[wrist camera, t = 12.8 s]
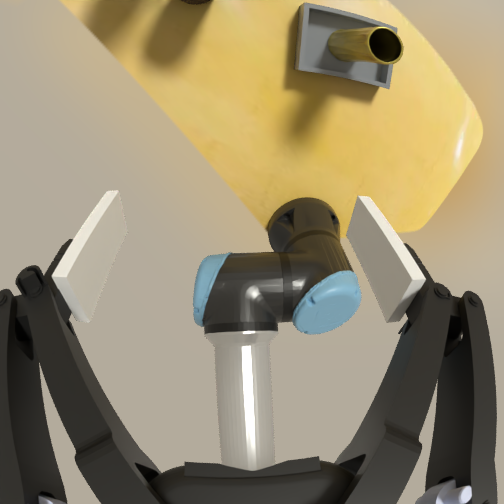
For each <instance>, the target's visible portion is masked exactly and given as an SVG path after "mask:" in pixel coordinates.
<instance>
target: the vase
mask: <svg viewBox="0 0 504 504" xmlns="http://www.w3.org/2000/svg"><path fill="white" fill-rule="evenodd" d="M328 47H329V50H330V52H331V53H332V55H333V56H335V57H336V58H337V59H338V60H340V61H344V62H371V63H378V64H384V65H388V64H394V63H396V62H398V61H399V60H400V59H401V57H402V55H403V44H402V41H401V39H400V37H399V36H398V35H397V34H396V33H395V32H394V31H393V30H392V29H390V28H387V27H368V28H359V29H346V30H345V29H340V30H337V31H335V32H333V33H332V34H331V36H330V37H329V40H328Z"/></svg>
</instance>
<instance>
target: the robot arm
mask: <svg viewBox="0 0 504 504" xmlns="http://www.w3.org/2000/svg"><path fill="white" fill-rule="evenodd" d="M127 233H128V230H127V225H126V221H125V216H124V212H123V207H122V202H121V197H120V192H119V191H107V192H106V193H105V195H104V196H103V197H102V199H101V200H100V202H99V203H98V204H97V206H96V207H95V209H94V210H93V211H92V213H91V214H90V215H89V217H88V218H87V220H86V221H85V223H84V224H83V226H82V227H81V229H80V230H79V232H78V233H77V235H76V236H75V238H74V239H69V240H68V241H67V242H66V243H65V244H64V245H62V247H61V248H60V250H59V251H58V253H57V255H56V256H55V258H54V261H52V263H51V265H50V266H49V268H48V270H47V272H46V273H45V275H43V273H42V271H41V270H40V268H39V267H38V266H36V265H33V266H29V267H26V268H25V269H23V270H22V271H21V272H20V273H19V274H18V276H17V278H16V285H17V287H18V289H19V290H20V292H21V293H22V295H19V296H14V295H13V294H12V292H11V291H10V290H9V289H4V290H1V291H0V504H67V498H66V495H65V489H64V485H63V482H62V479H61V475H60V472H59V469H58V465H57V462H56V459H55V455H54V451H53V447H52V444H51V439H50V435H49V430H48V425H47V420H46V415H45V409H44V403H43V396H42V388H41V379H40V368H39V362H40V366H41V368H42V371H43V375H44V377H45V380H46V383H47V386H48V389H49V391H50V394H51V397H52V399H53V402H54V404H55V407H56V409H57V411H58V414H59V416H60V418H61V421H62V423H63V425H64V427H65V429H66V431H67V433H68V435H69V437H70V439H71V441H72V443H73V445H74V447H75V450H76V455H75V461H76V464H77V466H78V468H79V470H80V472H81V473H82V475H83V477H84V478H85V480H86V481H87V483H88V485H89V486H90V488H91V489H92V491H93V492H94V494H95V495H96V497H97V498H98V500H99V501H100V502H101V504H396V503H397V501H398V500H399V498H400V496H401V494H402V492H403V490H404V488H405V486H406V484H407V482H408V480H409V478H410V476H411V474H412V472H413V470H414V468H415V465H416V463H417V461H418V459H419V456H420V453H421V450H422V444H421V443H420V442H419V435H420V432H421V430H422V427H423V424H424V421H425V418H426V415H427V413H428V410H429V407H430V403H431V400H432V397H433V394H434V390H435V387H436V383H437V379H438V386H437V403H436V415H435V423H434V431H433V439H432V446H431V451H430V457H429V462H428V468H427V474H426V486H425V493H424V494H423V496H422V497H420V498H418V499H417V501H416V503H415V504H497V482H496V471H495V462H494V457H495V446H496V422H497V410H496V409H497V408H496V385H495V374H494V364H493V355H492V348H491V342H490V336H489V330H488V325H487V320H486V315H485V311H484V306H483V303H482V300H481V299H480V298H479V296H478V295H477V294H475V293H473V292H471V291H466V292H465V293H464V294H463V296H462V297H461V298H459V297H455V296H452V295H451V293H450V291H449V290H448V289H447V288H446V287H445V286H444V285H442V284H439V283H435V282H434V281H433V279H432V278H431V276H430V274H429V273H428V271H427V270H426V268H425V266H424V265H423V264H422V262H421V260H420V259H419V258H418V256H417V255H416V253H415V251H414V250H413V249H412V248H411V247H410V246H409V245H408V244H406V243H403V242H402V241H401V239H400V238H399V236H398V235H397V234H396V232H395V231H394V229H393V228H392V226H391V225H390V224H389V222H388V221H387V220H386V218H385V217H384V215H383V214H382V213H381V211H380V210H379V209H378V207H377V206H376V205H375V203H374V202H373V201H372V200H371V198H370V197H367V196H357V200H356V204H355V207H354V211H353V214H352V217H351V221H350V224H349V227H348V231H347V234H346V236H347V238H348V239H349V241H350V243H351V245H352V247H353V249H354V251H355V253H356V256H357V258H358V259H359V262H360V264H361V266H362V268H363V270H364V272H365V274H366V276H367V279H368V281H369V283H370V285H371V287H372V290H373V292H374V294H375V296H376V299H377V301H378V303H379V305H380V308H381V310H382V313H383V315H384V317H385V320H386V322H387V323H388V322H396V321H400V320H401V318H402V317H403V315H404V314H405V313H406V315H407V317H408V320H407V321H406V323H405V324H404V325H403V327H402V328H401V330H400V331H399V333H398V334H400V333H401V332H402V333H401V336H400V339H399V342H398V344H397V347H396V350H395V352H394V355H393V357H392V360H391V362H390V365H389V367H388V369H387V372H386V374H385V376H384V379H383V381H382V383H381V385H380V387H379V390H378V392H377V394H376V396H375V398H374V400H373V402H372V404H371V406H370V408H369V410H368V412H367V414H366V416H365V418H364V420H363V422H362V423H361V426H360V427H359V429H358V431H357V433H356V434H355V436H354V438H353V440H352V441H351V443H350V444H349V445H348V446H347V448H346V449H345V450H344V451H343V452H342V453H341V454H340V455H339V457H338V458H337V460H336V461H335V463H331V462H326V461H320V460H319V456H318V457H312V458H305V459H298V460H288V461H285V462H282V463H279V464H276V465H275V452H274V429H273V407H272V388H271V368H270V351H269V345H270V343H271V341H272V340H273V339H274V338H275V337H276V336H277V334H278V323H279V322H293V325H294V326H295V327H296V328H297V330H299V331H300V332H304V333H306V334H321V333H325V332H328V331H331V330H333V329H335V328H337V327H339V326H341V325H342V324H343V323H345V322H346V321H348V320H349V319H350V318H351V317H352V316H353V315H354V314H355V312H356V311H357V309H358V307H359V305H360V302H361V291H360V287H359V284H358V280H357V276H356V274H355V273H354V271H353V269H352V267H351V265H350V263H349V260H348V258H347V256H346V254H345V252H344V250H343V248H342V246H341V244H340V224H339V220H338V218H337V216H336V214H335V212H334V210H333V209H332V208H331V207H330V206H329V205H328V204H327V203H325V202H324V201H322V200H319V199H316V198H299V199H295V200H292V201H290V202H287V203H286V204H284V205H283V206H281V207H280V208H279V209H278V210H277V211H276V212H275V213H274V214H273V216H272V218H271V220H270V222H269V225H268V236H269V242H270V245H271V247H272V249H273V250H274V252H261V253H227V254H219V255H210V256H207V257H206V258H205V259H204V260H203V261H202V262H201V264H200V266H199V269H198V272H197V276H196V281H195V288H194V298H193V306H194V320H195V323H196V324H197V325H200V326H201V327H204V331H205V337H206V338H207V339H208V340H209V341H210V342H211V343H212V344H213V346H214V347H215V368H216V389H217V406H218V421H219V433H220V434H219V435H220V448H221V460H222V464H215V463H214V464H213V463H194V462H185V466H180V467H176V468H172V469H170V470H167V471H165V472H163V473H161V472H160V471H159V469H158V468H157V467H156V466H155V464H154V463H153V462H152V461H151V460H150V459H149V458H148V456H146V454H145V453H144V452H143V451H142V450H141V449H140V448H139V447H138V445H137V444H136V442H135V441H134V440H133V438H132V437H131V435H130V434H129V432H128V431H127V429H126V428H125V426H124V425H123V423H122V421H121V420H120V418H119V417H118V416H117V414H116V412H115V410H114V409H113V407H112V405H111V404H110V402H109V400H108V398H107V397H106V395H105V393H104V392H103V390H102V388H101V386H100V384H99V382H98V380H97V378H96V376H95V375H94V373H93V370H92V368H91V367H90V365H89V363H88V360H87V358H86V356H85V354H84V352H83V350H82V348H81V345H80V343H79V341H78V338H77V336H76V334H75V332H74V329H73V326H72V324H71V322H70V321H69V318H70V315H71V313H72V314H73V316H74V318H75V319H76V321H82V322H89V323H90V322H91V319H92V317H93V314H94V311H95V308H96V305H97V303H98V300H99V298H100V295H101V292H102V290H103V287H104V285H105V282H106V280H107V277H108V275H109V272H110V270H111V268H112V265H113V263H114V261H115V259H116V256H117V254H118V252H119V250H120V247H121V245H122V243H123V241H124V239H125V237H126V235H127ZM462 334H463V337H462V339H461V335H462Z"/></svg>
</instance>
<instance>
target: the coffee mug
mask: <svg viewBox="0 0 504 504" xmlns="http://www.w3.org/2000/svg"><path fill="white" fill-rule="evenodd" d="M181 1H184V2H186V3H189V4H196V5H197V4H203V3H206V2H208V1H210V0H181Z"/></svg>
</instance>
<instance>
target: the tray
mask: <svg viewBox="0 0 504 504" xmlns="http://www.w3.org/2000/svg"><path fill="white" fill-rule="evenodd" d="M368 27H387V28H390V29H392V30H393V31H394V32H395V33H396V34H397V28H396V27H393V26H390V25H388V24H385V23H382V22H379V21H376V20H373V19H370V18H367V17H364V16H360V15H357V14H353V13H350V12H346V11H342V10H338V9H334V8H330V7H325V6H320V5H315V4H310V3H303V4H302V5H301V6H300V7H299V19H298V31H297V42H296V53H295V63H294V69H295V70H301V71H309V72H315V73H321V74H327V75H332V76H337V77H342V78H347V79H352V80H356V81H360V82H364V83H368V84H372V85H376V86H380V87H383V88H387V89H389V87H390V81H391V75H392V69H393V64H388V65H384V64H378V63H371V62H344V61H340V60H338V59H337V58H336V57H335V56H333V55H332V53H331V52H330V50H329V47H328V40H329V37H330V36H331V34H332V33H333V32H335V31H337V30H340V29H345V30H346V29H359V28H368Z"/></svg>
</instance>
